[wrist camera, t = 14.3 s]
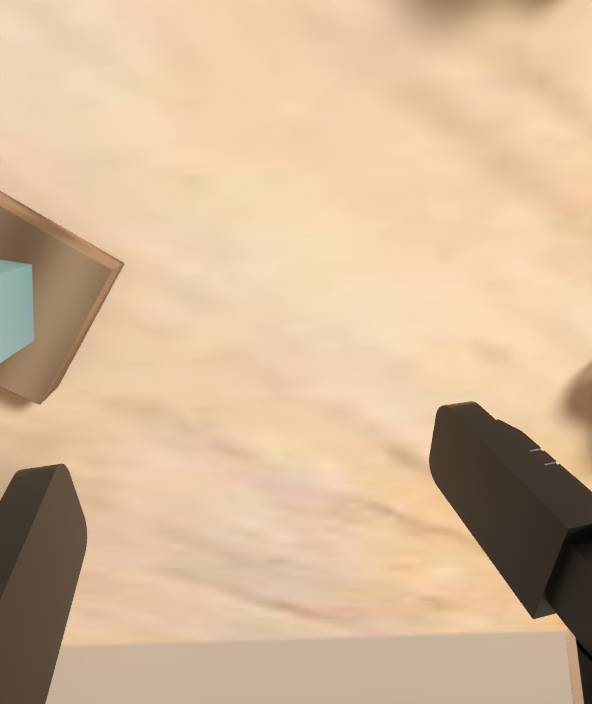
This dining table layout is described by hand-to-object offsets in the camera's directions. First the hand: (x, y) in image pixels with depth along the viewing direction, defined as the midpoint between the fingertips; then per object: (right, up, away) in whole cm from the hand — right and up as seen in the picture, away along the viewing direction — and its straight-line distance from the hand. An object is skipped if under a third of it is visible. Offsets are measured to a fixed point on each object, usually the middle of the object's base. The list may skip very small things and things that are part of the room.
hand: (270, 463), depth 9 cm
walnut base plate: (-19, +7, +20) cm, 28 cm away
